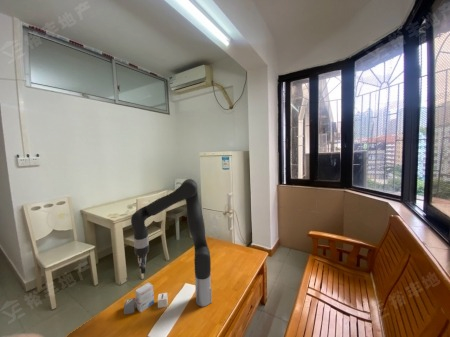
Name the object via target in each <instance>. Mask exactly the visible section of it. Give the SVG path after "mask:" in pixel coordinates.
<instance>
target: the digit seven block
mask: <svg viewBox="0 0 450 337" xmlns="http://www.w3.org/2000/svg"><path fill="white" fill-rule="evenodd" d="M136 309H137V305H136V297H133V298H128V299H125V303H124V304H123V314H124V315H130V314H134V313H135V310H136Z"/></svg>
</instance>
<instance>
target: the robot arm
mask: <svg viewBox="0 0 450 337" xmlns="http://www.w3.org/2000/svg"><path fill="white" fill-rule="evenodd" d="M198 192H199V191H198V185H197V182H196V181H195V180H194V179H192V178H187V179H185V180H184V181H183V182H182V183H181V184H180V186H178V188H176V189H175V190H174V191H172V192H171V193H168V194H167V195H163V196H161V197H159V198H158V199H156V200H153V201H152V202H150V203H149V204H147V205H145V206H143V207H140V208H139V209H137V210H136V211H135V212H134V213H133V214H132V215H131V218H130V223H131V227H132V229H133V238H134V239H133V245H134V246H133V247H134V249H133V250H134V254H135V255H136V256H138V257H137V262H138V263H137V267H138V269H139V270H140V274H141V275H142V274H146V266H147V264H146V263H147V255H148V253H149V252H150V244H149V243H150V242H149V235H148V234H149V233H148V227H147V226H146V225H145V224H146V223H145V222H146V220H147V219H148V218H150V217H152V216H156V215H158V214H159V213H161V212H163V211H164V210H166V209H168V208H170V207H171V206H173V205H175V204H177V203H179V202H182V201H185V203H186V204H185V205H186V221H187V227H188V231H189V233H190V236H191V237H192V240H193V245H194V261H193V262H194V280H195V284H194V285H195V304H197V305H198V307H202V308H203V307H207V306H208V305H210V304H211V303H213V302H212V298H213V297H212V296H213V295H212V284H211V282H212V281H211V279H212V278H211V271H212V268H211V265H212V264H211V263H212V261H211V252H210V248H209V246H208V243H207V238H206V229H205V228H206V227H205V222H204V221H205V220H204V215H203V212H202V208H201V205H200V201H199V193H198Z"/></svg>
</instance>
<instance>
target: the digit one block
mask: <svg viewBox="0 0 450 337" xmlns="http://www.w3.org/2000/svg"><path fill="white" fill-rule="evenodd" d="M168 302H169V300H168V292H163V293H158V296H157V309H161V308H166V307H168Z"/></svg>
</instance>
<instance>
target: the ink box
mask: <svg viewBox="0 0 450 337" xmlns="http://www.w3.org/2000/svg"><path fill="white" fill-rule="evenodd" d="M134 294H135V298H136V309H137V310H138V312H139V313H142V312H144V311H146V310H147V309H148V308H149V307H151V306H152V305H154V304H155V297H154V296H155V294H154V285H153V284H152V283H150V282H147V283H145V284H144V285H142V286H140V287H138V288H137V289H135V292H134Z"/></svg>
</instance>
